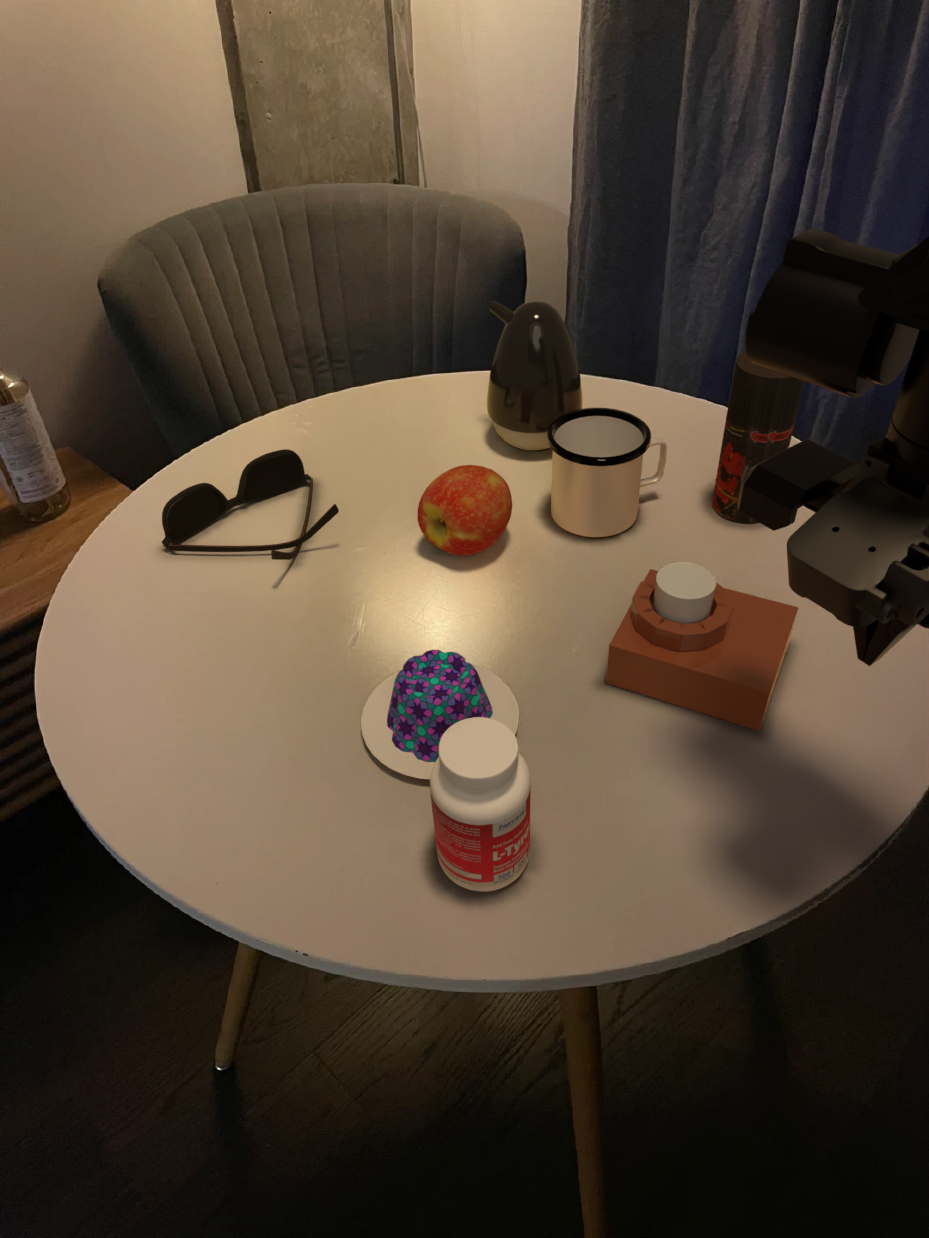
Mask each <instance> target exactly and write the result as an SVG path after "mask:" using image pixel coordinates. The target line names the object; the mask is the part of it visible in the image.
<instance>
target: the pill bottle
mask: <svg viewBox="0 0 929 1238" xmlns="http://www.w3.org/2000/svg"><path fill="white" fill-rule="evenodd" d="M531 783H532V781H531V772H530V769H529V766H528V764H527V761H526V760H525V758H524V757H523V756H522V754H521V753H520V752H519V743H518V739H517V737H516V734H515V735H514V733H513V732H512V731H511V730H510V729H509V728H508V727H507V726H506V725H504V724H503V723H501V722H499V721H497V720H494V719H490V718H485V717H473V718H467V719H464V720H461V721H459V722H457V723H455V724H453V725H452V726H451V727H449V728H448V729H447V730H446V731H445V733H444V734H443V736H442V737H441V740H440V743H439V758H438V759H437V760H436V762H435V764H434V766H433V768H432V771H431V775H430V779H429V790H430V791H429V792H430V801H431V810H432V818H433V827H434V838H435V846H436V848H435V849H436V854H437V859H438V862H439V865H440V867H441V869H442V871H443V872H444V874H445V875H446V877H448V879H450V881H452V882H453V883H454V884H456V885H457V886H459V887H461V888H464V889H467V890H470V891H474V892H481V893H482V892H483V893H484V892H493V891H497V890H500V889H502V888H505V887H507V886H509V885H511V884H512V883H513V882H515V881H516V880H517V879H518V878H519V877H520V876H521V875H522V873H523V872H524V870H525V869H526V867H527V864H528V861H529V858H530V852H531V850H530V849H531V791H532V790H531V787H532V785H531Z"/></svg>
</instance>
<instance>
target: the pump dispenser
mask: <svg viewBox="0 0 929 1238" xmlns="http://www.w3.org/2000/svg"><path fill="white" fill-rule="evenodd" d="M488 308H489V311H490V312H491V313H492V314H494V316H496V317H497V318H498V319H500V321H502V322H503V323H504V324H505V325H504V327H503V329H502V332H501V334H500V337H499V339H498V342H497V345H496V348H495V351H494V354H493V358H492V363H491V367H490V372H489V378H488V385H487V386H488V387H487V394H486V395H487V396H486V411H487V415H488V417H489V419H490V420H491V422H492V425H493V428H494V429H495V431H496V433H497V434H498V436H499V437H500V438H501V439H502V440H503V441H504V442H505V443H507V444H509V445H510V446H512V447H515V448H518V449H521V450H525V451H542V450H547V449H551V448H550V446H549V445H548V442H547V432H548V428H549V426H550V424H551V423H552V422H553V421H554V420H555V419H557V418H558V417H560V416H561V415H564V414H566V413H568V412H571V411H575V410H579V409H583V387H582V378H581V371H580V367H579V361H578V358H577V353H576V350H575V347H574V343H573V341H572V337H571V334H570V331H569V330H568V327H567V325H566V324H565V321H564V320H563V318H562V316H561V315H560V313H559V312H558V310H557V309H556V308H555V307H554V306H552V305H551V304H549V303H547V302H545V301H541V300H531V301H528V302H524V303H521V305H519V306H518V307H517V308H516V309H515V310H512V309H510V308H508V307H506V306H505V305H503V304H501V303H499V302H498V301H496V300H493V301H491V303H490V304H489V307H488Z"/></svg>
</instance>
